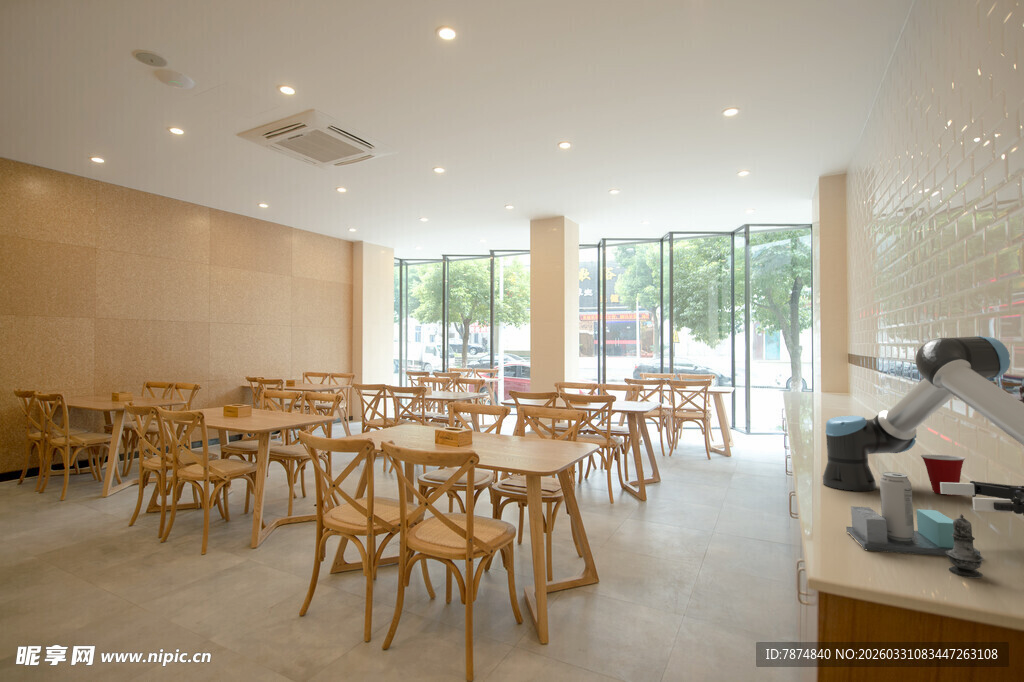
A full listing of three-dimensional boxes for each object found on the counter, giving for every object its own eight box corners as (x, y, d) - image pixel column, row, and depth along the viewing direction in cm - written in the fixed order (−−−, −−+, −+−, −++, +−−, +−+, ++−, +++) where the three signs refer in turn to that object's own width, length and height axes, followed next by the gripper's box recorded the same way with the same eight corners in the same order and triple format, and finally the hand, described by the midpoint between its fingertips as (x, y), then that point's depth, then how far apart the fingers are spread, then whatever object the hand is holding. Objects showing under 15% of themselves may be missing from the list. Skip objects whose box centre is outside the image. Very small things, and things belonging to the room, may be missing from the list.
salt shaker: (939, 567, 106) (935, 510, 106) (964, 565, 106) (960, 509, 107) (966, 579, 100) (962, 519, 100) (993, 577, 100) (989, 517, 101)
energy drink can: (886, 531, 123) (882, 470, 124) (917, 537, 119) (913, 474, 119) (880, 537, 119) (876, 474, 120) (911, 544, 115) (907, 478, 115)
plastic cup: (956, 489, 162) (954, 452, 162) (975, 498, 152) (972, 459, 152) (916, 487, 165) (914, 451, 166) (932, 496, 155) (929, 458, 156)
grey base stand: (846, 532, 127) (845, 505, 128) (950, 538, 121) (948, 509, 121) (864, 550, 116) (863, 520, 116) (980, 558, 110) (978, 526, 110)
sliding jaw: (917, 531, 122) (916, 509, 122) (937, 533, 121) (935, 510, 121) (939, 547, 113) (937, 522, 113) (960, 548, 111) (959, 523, 112)
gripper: (1124, 537, 97) (990, 530, 104) (1034, 501, 121) (930, 497, 128) (1121, 499, 98) (988, 493, 104) (1032, 470, 121) (928, 467, 128)
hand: (956, 495), depth 116 cm, fingers open, 13 cm apart
